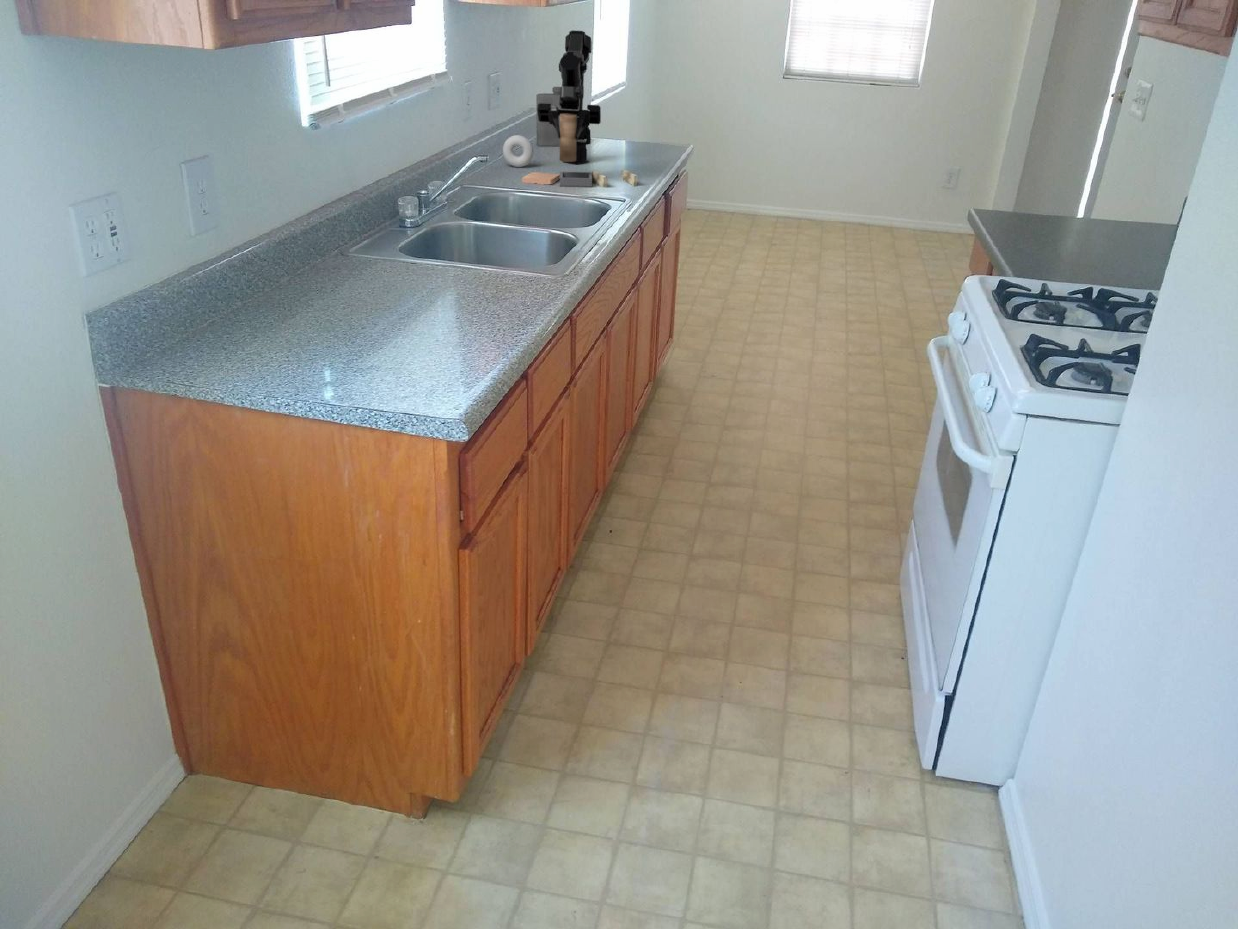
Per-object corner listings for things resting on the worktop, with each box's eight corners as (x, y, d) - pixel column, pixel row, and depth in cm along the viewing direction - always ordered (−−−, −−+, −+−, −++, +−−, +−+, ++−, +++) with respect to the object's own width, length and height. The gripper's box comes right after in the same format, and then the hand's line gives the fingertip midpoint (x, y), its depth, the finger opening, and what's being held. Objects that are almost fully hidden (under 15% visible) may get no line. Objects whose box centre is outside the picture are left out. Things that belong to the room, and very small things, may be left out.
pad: (532, 176, 295) (532, 171, 295) (560, 179, 293) (560, 174, 293) (522, 182, 288) (522, 177, 287) (550, 184, 286) (550, 179, 285)
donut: (534, 166, 310) (534, 134, 305) (532, 168, 307) (532, 136, 302) (504, 165, 310) (503, 133, 306) (502, 167, 307) (501, 135, 303)
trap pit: (560, 179, 293) (560, 171, 292) (591, 180, 293) (591, 172, 292) (559, 186, 284) (559, 177, 283) (591, 187, 285) (591, 178, 284)
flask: (577, 144, 350) (577, 86, 341) (578, 147, 345) (579, 88, 336) (536, 143, 349) (536, 85, 339) (537, 146, 344) (536, 87, 334)
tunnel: (591, 180, 293) (591, 170, 292) (624, 179, 297) (624, 169, 296) (603, 187, 285) (603, 177, 284) (637, 185, 289) (637, 175, 288)
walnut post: (556, 159, 287) (556, 113, 281) (571, 158, 289) (571, 113, 283) (564, 162, 283) (564, 116, 277) (579, 161, 285) (579, 115, 279)
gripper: (537, 73, 279) (533, 118, 274) (601, 76, 278) (598, 121, 274) (540, 98, 289) (537, 142, 285) (601, 101, 289) (599, 144, 284)
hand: (567, 137), depth 282 cm, fingers closed on walnut post, 5 cm apart
